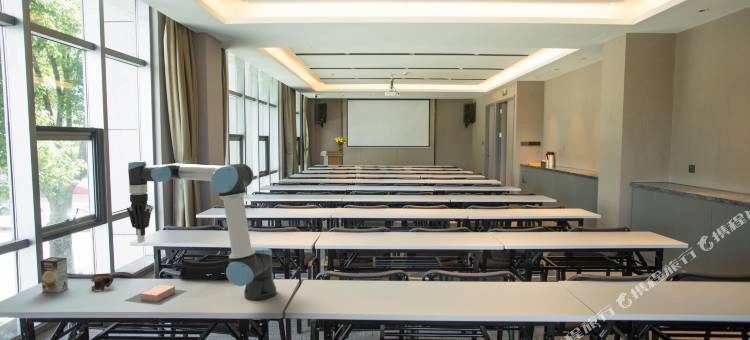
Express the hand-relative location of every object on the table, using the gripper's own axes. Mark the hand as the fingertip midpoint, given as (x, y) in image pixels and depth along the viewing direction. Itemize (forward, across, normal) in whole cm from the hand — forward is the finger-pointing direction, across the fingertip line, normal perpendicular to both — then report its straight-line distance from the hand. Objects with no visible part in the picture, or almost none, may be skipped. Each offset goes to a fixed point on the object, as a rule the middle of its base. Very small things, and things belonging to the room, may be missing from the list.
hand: (141, 241), depth 202 cm
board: (+24, -4, 0) cm, 25 cm away
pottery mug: (+27, +28, -4) cm, 39 cm away
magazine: (+27, -16, -28) cm, 42 cm away
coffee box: (+26, +48, +5) cm, 55 cm away
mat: (+26, -8, 0) cm, 27 cm away
